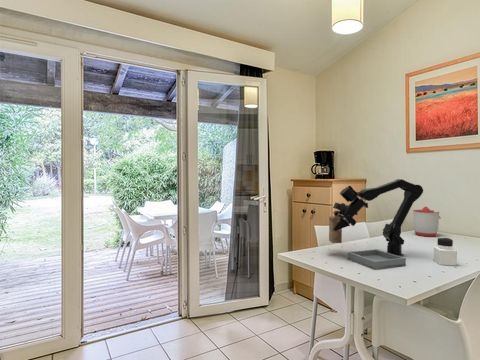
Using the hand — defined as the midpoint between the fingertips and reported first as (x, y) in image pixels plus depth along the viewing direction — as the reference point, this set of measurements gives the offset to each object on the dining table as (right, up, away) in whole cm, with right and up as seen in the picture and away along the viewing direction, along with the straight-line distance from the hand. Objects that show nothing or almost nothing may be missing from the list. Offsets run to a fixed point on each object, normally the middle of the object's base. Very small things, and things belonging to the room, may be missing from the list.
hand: (332, 229), depth 160 cm
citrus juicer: (+81, -13, +52) cm, 97 cm away
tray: (+17, -14, -13) cm, 25 cm away
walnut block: (+1, -7, 0) cm, 7 cm away
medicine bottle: (+49, -14, -14) cm, 53 cm away
